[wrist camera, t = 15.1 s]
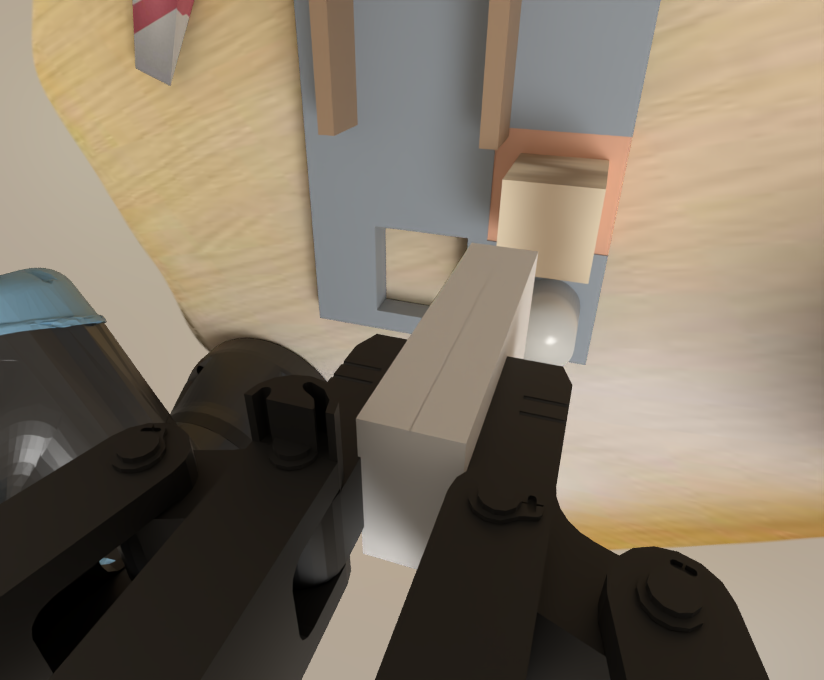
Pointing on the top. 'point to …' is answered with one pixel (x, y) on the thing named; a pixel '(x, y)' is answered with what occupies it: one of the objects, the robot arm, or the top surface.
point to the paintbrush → (159, 35)
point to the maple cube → (554, 212)
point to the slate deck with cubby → (455, 125)
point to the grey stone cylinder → (552, 322)
